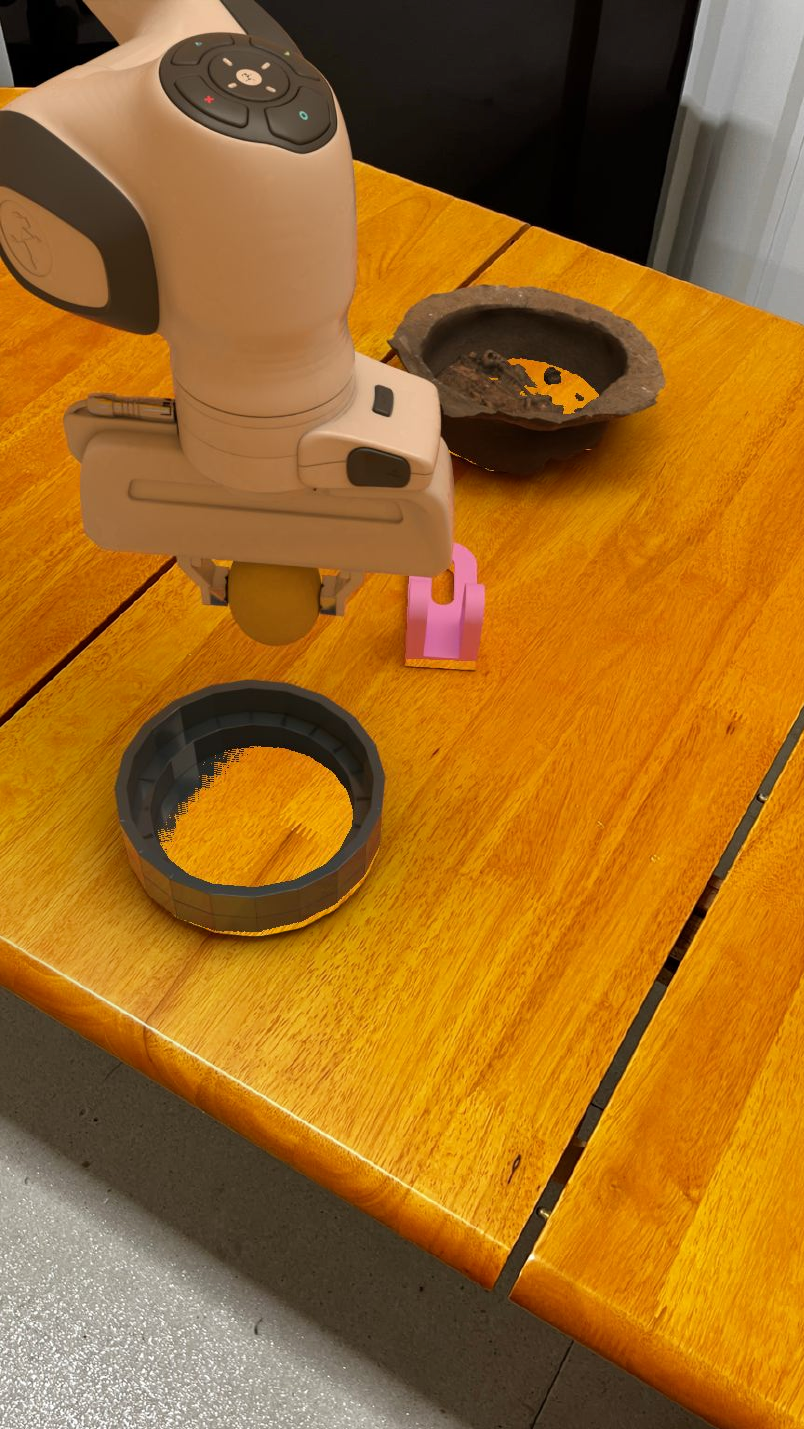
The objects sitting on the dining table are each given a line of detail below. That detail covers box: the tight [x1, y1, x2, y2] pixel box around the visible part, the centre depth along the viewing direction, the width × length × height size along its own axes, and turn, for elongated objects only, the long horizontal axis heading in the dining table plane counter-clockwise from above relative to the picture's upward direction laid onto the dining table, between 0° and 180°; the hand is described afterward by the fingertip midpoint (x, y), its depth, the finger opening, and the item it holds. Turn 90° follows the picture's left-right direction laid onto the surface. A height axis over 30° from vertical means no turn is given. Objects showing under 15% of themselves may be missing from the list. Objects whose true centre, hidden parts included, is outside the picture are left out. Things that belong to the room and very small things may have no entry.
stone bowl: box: [385, 283, 666, 476], centre depth 111 cm, size 25×25×9 cm
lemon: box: [227, 561, 322, 647], centre depth 72 cm, size 6×6×8 cm
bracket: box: [404, 542, 486, 662], centre depth 97 cm, size 13×6×7 cm, turn 179°
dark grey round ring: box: [113, 679, 386, 932], centre depth 83 cm, size 18×18×6 cm
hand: (276, 603), depth 72 cm, fingers closed on lemon, 5 cm apart
